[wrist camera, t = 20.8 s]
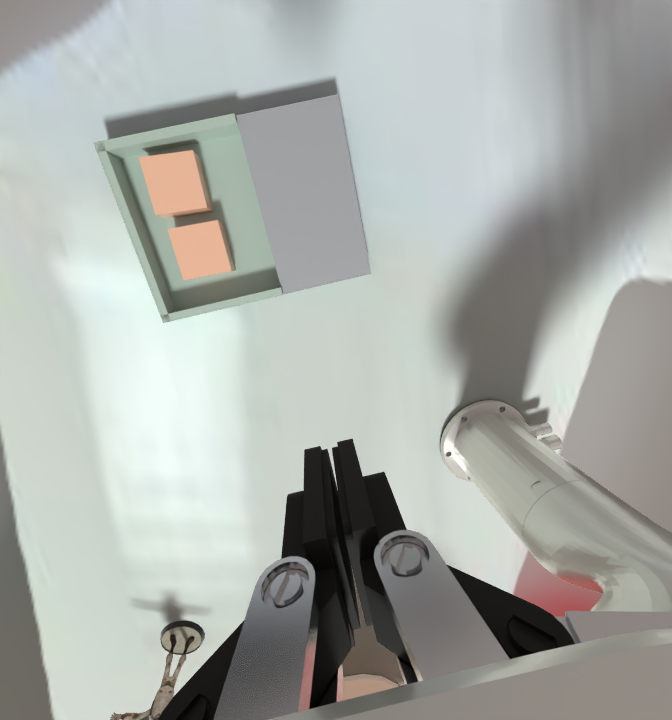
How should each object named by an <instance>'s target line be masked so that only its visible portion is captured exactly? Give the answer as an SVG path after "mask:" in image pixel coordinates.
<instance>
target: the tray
mask: <svg viewBox="0 0 672 720" xmlns="http://www.w3.org/2000/svg"><path fill="white" fill-rule="evenodd" d="M94 145H95V148H96V150H97V153H98V156H99V158H100V161H101V163H102V166H103V168H104V171H105V174H106V176H107V179H108V181H109V184H110V187H111V189H112V192H113V194H114V197H115V199H116V202H117V205H118V207H119V210H120V212H121V215H122V218H123V220H124V223H125V225H126V228H127V230H128V233H129V236H130V238H131V241H132V243H133V246H134V248H135V251H136V254H137V256H138V259H139V261H140V264H141V267H142V269H143V272H144V274H145V277H146V279H147V282H148V285H149V287H150V290H151V292H152V295H153V298H154V300H155V303H156V305H157V308H158V310H159V313H160V316H161V318H162V321H163V323H165V322H170V321H174V320H178V319H182V318H187V317H191V316H195V315H199V314H203V313H208V312H212V311H216V310H220V309H225V308H229V307H233V306H237V305H242V304H246V303H250V302H254V301H259V300H263V299H267V298H271V297H276V296H280V295H283V293H282V289H281V285H280V281H279V278H278V274H277V270H276V266H275V263H274V259H273V255H272V251H271V248H270V244H269V240H268V236H267V233H266V229H265V225H264V221H263V218H262V214H261V210H260V207H259V203H258V199H257V195H256V192H255V188H254V184H253V180H252V177H251V173H250V169H249V165H248V162H247V158H246V154H245V150H244V147H243V143H242V139H241V135H240V132H239V128H238V124H237V120H236V117H235V114H234V113H233V114H228V115H223V116H218V117H214V118H209V119H204V120H199V121H194V122H190V123H185V124H180V125H175V126H170V127H166V128H161V129H156V130H151V131H147V132H142V133H137V134H132V135H127V136H123V137H118V138H113V139H108V140H103V141H99V142H94ZM190 150H193V151H194V152H195V153H196V154H197V155H198V156H199V157H200V158H201V163H202V167H203V171H204V175H205V179H206V183H207V187H208V191H209V196H210V200H211V204H212V208H213V212H208V213H201V214H194V215H187V216H180V217H174V218H167V219H165V218H162V217H159V216H157V215H155V212H154V208H153V205H152V202H151V198H150V195H149V191H148V188H147V184H146V181H145V178H144V174H143V171H142V167H141V164H140V161H139V157H145V156H152V155H160V154H167V153H175V152H182V151H190ZM215 220H219V221H220V222H222V223H223V224H224V228H225V232H226V236H227V239H228V243H229V247H230V250H231V254H232V258H233V262H234V265H235V269H236V271H232V272H226V273H221V274H216V275H211V276H206V277H201V278H195V279H190V280H183V277H182V274H181V271H180V268H179V265H178V261H177V258H176V255H175V252H174V249H173V246H172V243H171V239H170V236H169V233H168V230H167V229H171V228H177V227H182V226H187V225H193V224H198V223H204V222H209V221H215Z"/></svg>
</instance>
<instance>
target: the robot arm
mask: <svg viewBox="0 0 672 720" xmlns="http://www.w3.org/2000/svg"><path fill="white" fill-rule="evenodd" d="M551 432H552V427H551V426H550V425H549V424H548V423H544V424H541V425H538V426H535V427H532V426H529V425H527V424H526V422H525V420H524V418H523V417H522V415H521V414H520V413H519V412H518V411H517V410H516V409H514V408H513V407H511V406H510V405H508V404H506V403H504V402H501V401H495V400H486V401H480V402H476V403H473V404H471V405H469V406H467V407H465V408H464V409H462V410H460V411H459V412H458V413H457V414H456V415H455V416H454V417H453V418H452V419H451V420H450V422H449V423H448V424H447V426H446V428H445V430H444V432H443V435H442V438H441V444H440V449H441V456H442V459H443V461H444V463H445V465H446V466H447V467H448V469H449V470H450V471H451V472H452V473H453V474H454V475H455V476H457V477H459V478H461V479H463V480H466V481H470V482H474V484H475V485H476V486H477V487H478V489H479V490H480V491H481V492H482V494H483V495H484V496H485V497H486V498H487V500H488V501H489V502H490V503H491V505H492V506H493V507H494V508H495V510H496V511H497V512H498V513H499V514H500V516H501V517H502V518H503V519H504V521H505V522H506V523H507V524H508V526H509V527H510V528H511V529H512V530H513V532H514V533H515V534H516V535H517V537H518V538H519V539H520V540H521V542H522V543H523V544H524V545H525V546H526V548H527V549H528V550H529V551H530V552H531V554H532V555H533V556H534V557H535V558H536V560H537V561H538V562H539V563H540V564H541V565H542V566H543V567H544V568H546V569H547V570H548V571H549V572H551V573H552V574H554V575H555V576H557V577H558V578H560V579H562V580H564V581H566V582H568V583H571V584H573V585H576V586H579V587H582V588H585V589H588V590H592V591H596V592H599V593H603V595H602V597H601V599H600V600H599V601H598V602H597V604H596V605H595V606H594V607H593V608H592V609H591V611H566V617H554V616H553V615H552V614H550V613H548V612H547V611H545V610H543V609H541V608H540V607H538V606H536V605H534V604H531V603H529V602H527V601H525V600H523V599H521V598H518V597H516V596H514V595H512V594H510V593H508V592H505V591H503V590H501V589H499V588H497V587H494V586H492V585H490V584H488V583H486V582H484V581H481V580H479V579H477V578H475V577H473V576H470V575H468V574H466V573H464V572H462V571H460V570H457V569H455V568H453V567H451V566H449V565H446V563H445V562H444V560H443V559H442V557H441V556H440V554H439V553H438V551H437V550H436V548H435V547H434V545H433V544H432V543H431V542H430V541H429V540H428V538H427V537H425V536H423V535H422V534H420V533H418V532H415V531H411V530H407V529H406V527H405V524H404V522H403V519H402V516H401V514H400V511H399V509H398V506H397V503H396V501H395V498H394V496H393V493H392V490H391V488H390V485H389V483H388V480H387V477H386V475H385V473H384V472H381V473H377V474H372V475H368V476H364V477H363V476H362V472H361V469H360V465H359V461H358V457H357V454H356V450H355V446H354V443H353V439H349V440H345V441H340V442H337V444H338V447H333V448H332V452H333V459H334V466H335V473H336V481H337V486H336V482H335V478H334V474H333V470H332V466H331V462H330V457H329V453H328V450H327V449H325V450H322V449H321V447H320V446H319V447H314V448H310V449H306V450H305V452H304V491H300V492H296V493H291V494H288V496H287V504H286V515H285V525H284V536H283V547H282V558H281V559H280V560H278V561H276V562H274V563H273V564H272V565H270V566H269V567H268V568H267V569H266V570H265V571H264V572H263V573H262V575H261V576H260V577H259V579H258V581H257V584H256V586H255V589H254V592H253V595H252V598H251V601H250V605H249V608H248V611H247V614H246V617H245V620H244V621H243V622H242V623H241V624H240V625H239V627H238V628H237V629H236V630H235V631H234V632H233V633H232V634H231V635H230V636H229V637H228V638H227V640H226V641H225V642H224V643H223V644H222V645H221V646H220V647H219V648H218V649H217V650H216V652H215V653H214V654H213V655H212V656H211V657H210V658H209V659H208V660H207V661H206V662H205V663H204V665H203V666H202V667H201V668H200V669H199V670H198V671H197V672H196V673H195V674H194V675H193V676H192V678H191V679H190V680H189V681H188V682H187V683H186V684H185V685H184V686H183V687H182V688H181V689H180V691H179V692H178V693H177V694H176V695H175V696H174V697H173V698H172V700H171V701H170V702H169V703H168V705H167V706H166V707H165V709H164V710H163V711H162V713H161V715H160V716H159V717H158V718H156V719H154V720H672V533H671V532H670V531H668V530H666V529H665V528H663V527H661V526H660V525H658V524H657V523H655V522H653V521H652V520H651V519H649V518H648V517H646V516H645V515H643V514H642V513H640V512H639V511H638V510H636V509H634V508H633V507H632V506H630V505H628V504H627V503H626V502H624V501H623V500H621V499H620V498H619V497H617V496H616V495H614V494H613V493H611V492H610V491H608V490H607V489H606V488H605V487H603V486H602V485H600V484H599V483H598V482H596V481H595V480H593V479H592V478H591V477H589V476H587V474H585V473H584V472H582V471H581V470H580V469H578V468H577V467H575V466H574V465H573V464H571V463H570V462H569V461H567V460H565V459H564V458H563V457H562V456H560V455H559V454H557V453H556V452H555V451H553V450H557V449H561V448H562V441H561V439H560V438H559V437H558V436H557V435H551V436H548V437H544V438H541V439H539V440H538V439H537V436H539V435H545V434H548V433H551ZM337 488H338V490H337ZM351 565H352V567H351ZM352 569H353V573H354V577H355V581H356V585H357V589H358V593H359V597H360V601H361V605H362V609H363V613H364V617H365V621H366V625H367V626H369V625H374V629H375V633H376V637H377V641H378V642H379V643H381V644H382V645H383V646H385V647H386V648H387V649H389V650H390V651H392V652H393V653H394V654H395V656H396V660H397V664H398V667H399V670H400V672H401V675H402V678H403V680H404V683H405V685H403V686H399V687H395V688H391V689H387V690H383V691H379V692H375V693H371V694H367V695H363V696H359V697H355V698H352V699H348V700H344V701H343V668H342V662H343V661H344V659H345V657H346V656H347V654H348V653H349V651H350V649H351V648H352V647H351V646H355V641H354V633H353V629H357V628H360V620H359V614H358V607H357V600H356V593H355V587H354V580H353V573H352ZM140 720H152V718H151V716H150V715H148V716H146V717H144V718H142V719H140Z"/></svg>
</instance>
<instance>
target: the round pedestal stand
mask: <svg viewBox="0 0 672 720" xmlns="http://www.w3.org/2000/svg"><path fill="white" fill-rule="evenodd" d="M395 687H399V686H398V685H397V684H396V683H394V682H392V681H390V680H388V679H387V678H385V677H383V676H377V675H369V674H358V675H352V676H345V677H343V701H344V700H348V699H352V698H355V697H359V696H363V695H367V694H371V693H375V692H379V691H383V690H387V689H391V688H395Z"/></svg>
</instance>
